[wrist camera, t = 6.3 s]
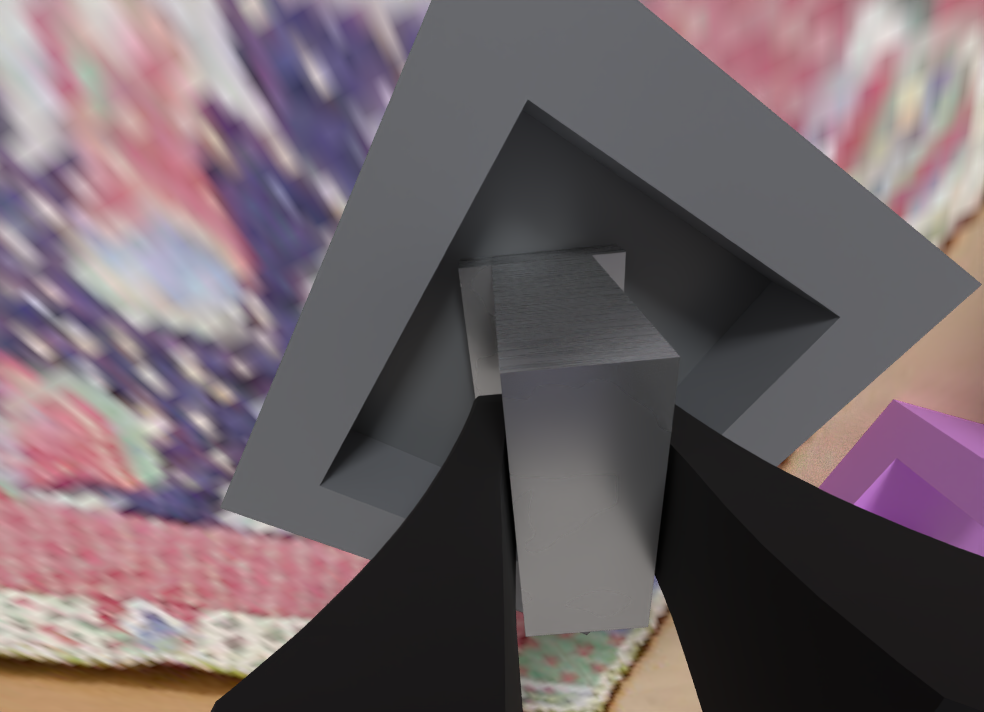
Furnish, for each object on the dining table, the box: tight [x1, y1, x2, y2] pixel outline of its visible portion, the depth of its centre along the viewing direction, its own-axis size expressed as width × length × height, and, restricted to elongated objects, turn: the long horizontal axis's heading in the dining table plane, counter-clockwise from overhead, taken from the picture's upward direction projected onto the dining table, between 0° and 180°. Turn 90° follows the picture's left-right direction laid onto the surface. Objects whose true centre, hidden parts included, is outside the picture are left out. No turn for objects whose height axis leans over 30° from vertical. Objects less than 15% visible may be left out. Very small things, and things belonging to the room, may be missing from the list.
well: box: [220, 0, 982, 635], centre depth 12 cm, size 12×14×3 cm
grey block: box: [458, 244, 680, 637], centre depth 10 cm, size 4×6×6 cm, turn 5°
